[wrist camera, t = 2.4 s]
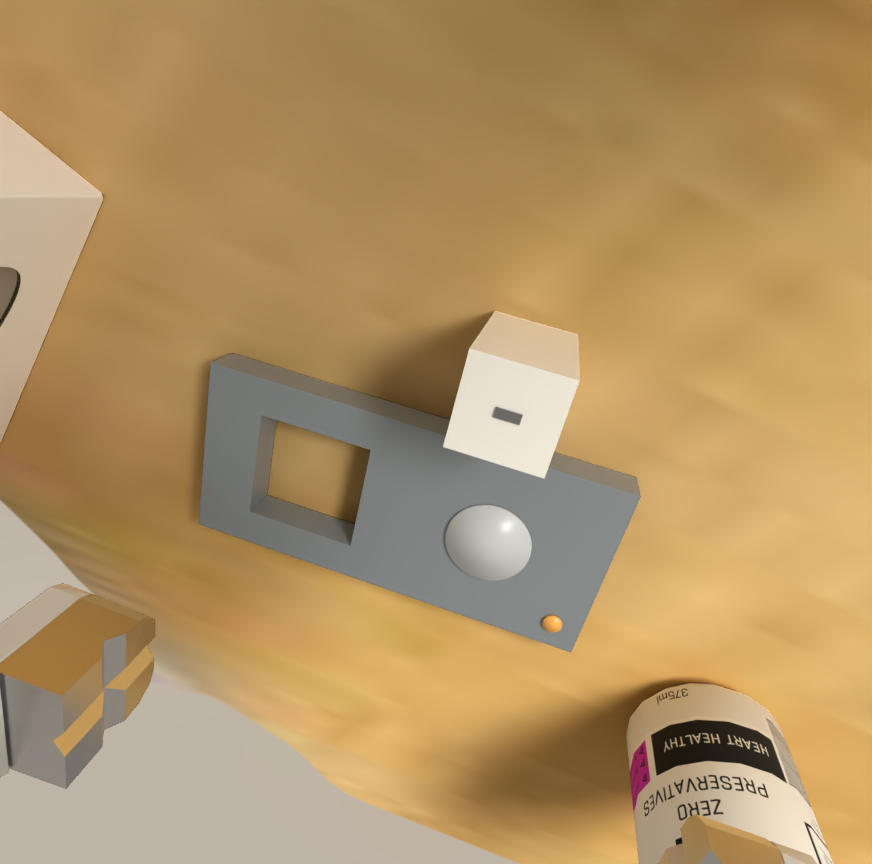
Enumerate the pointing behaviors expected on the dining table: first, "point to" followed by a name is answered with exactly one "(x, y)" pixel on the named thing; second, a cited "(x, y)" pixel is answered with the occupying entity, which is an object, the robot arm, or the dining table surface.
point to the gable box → (34, 250)
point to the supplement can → (714, 771)
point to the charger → (515, 394)
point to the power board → (416, 505)
